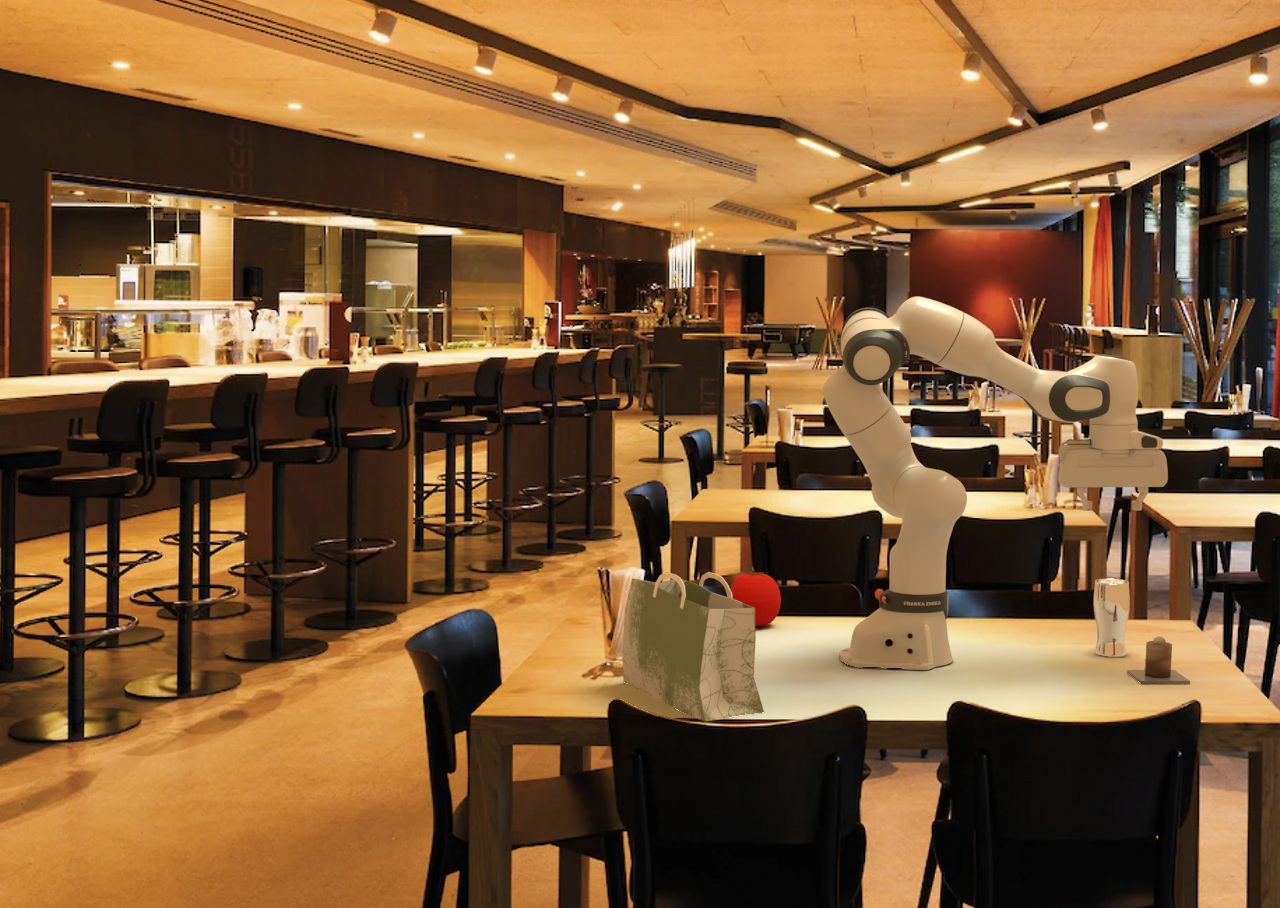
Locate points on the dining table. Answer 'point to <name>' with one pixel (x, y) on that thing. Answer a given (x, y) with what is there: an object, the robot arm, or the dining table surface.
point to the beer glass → (1111, 616)
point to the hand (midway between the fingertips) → (1112, 510)
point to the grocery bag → (691, 647)
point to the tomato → (758, 595)
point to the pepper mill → (1158, 658)
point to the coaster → (1144, 679)
